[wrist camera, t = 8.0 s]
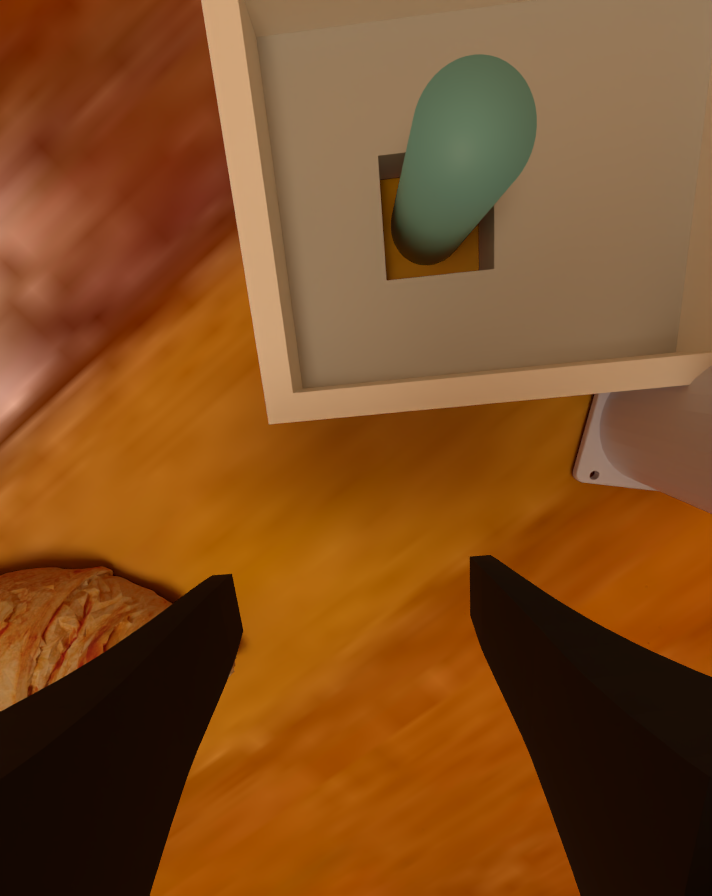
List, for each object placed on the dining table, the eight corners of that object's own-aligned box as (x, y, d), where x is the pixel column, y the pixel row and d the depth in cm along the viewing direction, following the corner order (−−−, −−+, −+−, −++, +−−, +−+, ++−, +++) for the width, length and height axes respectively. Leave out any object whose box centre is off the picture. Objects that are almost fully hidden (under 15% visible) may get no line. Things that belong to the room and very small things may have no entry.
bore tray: (707, -15, 15) (857, -176, 10) (662, 374, 18) (757, 378, 14) (237, 47, 15) (188, -79, 11) (289, 409, 19) (268, 424, 15)
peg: (469, 255, 17) (541, 186, 10) (397, 272, 17) (422, 215, 11) (459, 172, 16) (531, 38, 9) (384, 191, 16) (401, 73, 10)
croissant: (260, 573, 26) (230, 592, 18) (233, 731, 23) (185, 831, 16) (-38, 540, 25) (-205, 544, 17) (-98, 700, 22) (-325, 790, 15)
